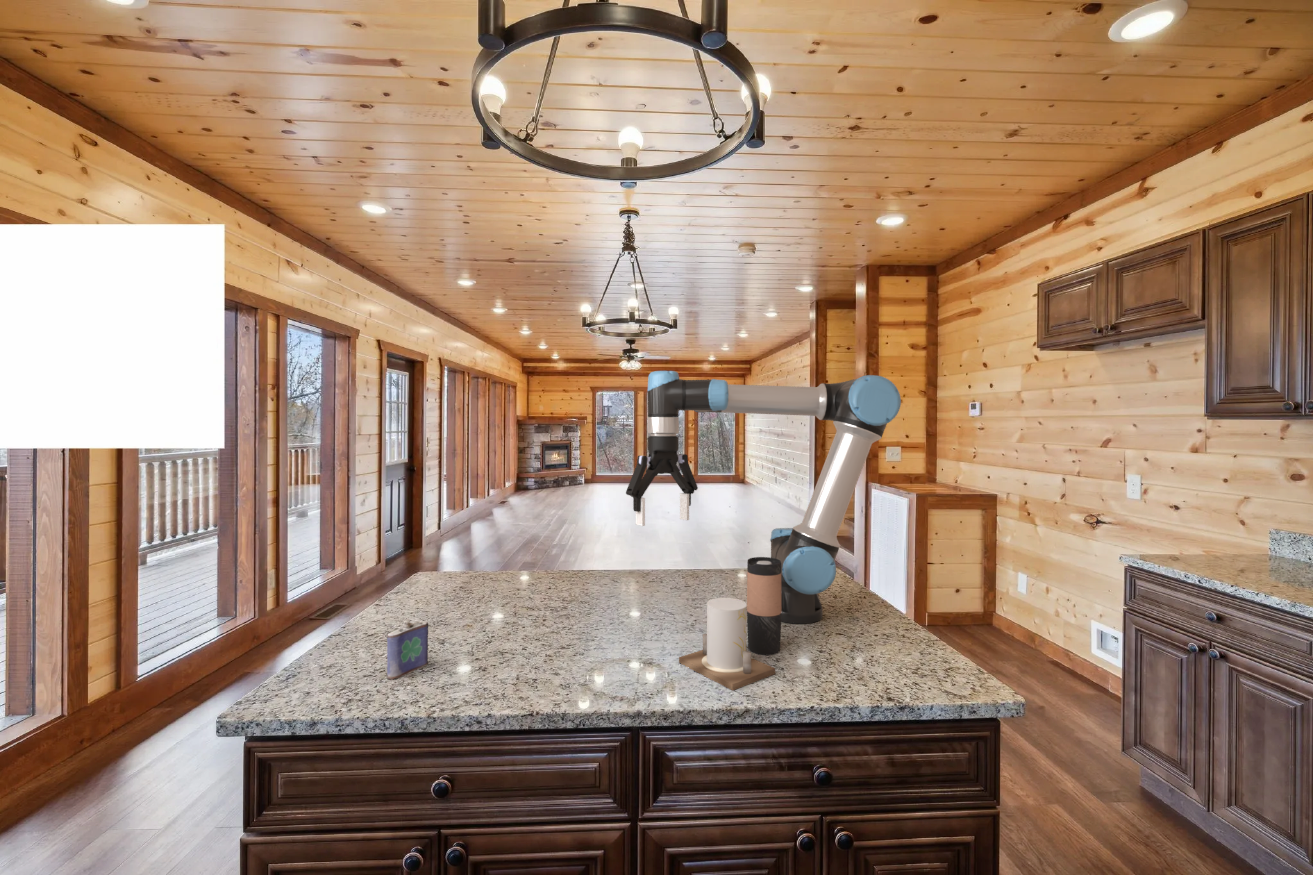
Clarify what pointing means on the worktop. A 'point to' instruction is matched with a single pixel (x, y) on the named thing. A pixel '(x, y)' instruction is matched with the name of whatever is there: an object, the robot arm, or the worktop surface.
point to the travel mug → (764, 605)
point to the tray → (727, 678)
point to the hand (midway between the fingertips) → (663, 522)
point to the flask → (407, 649)
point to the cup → (726, 632)
